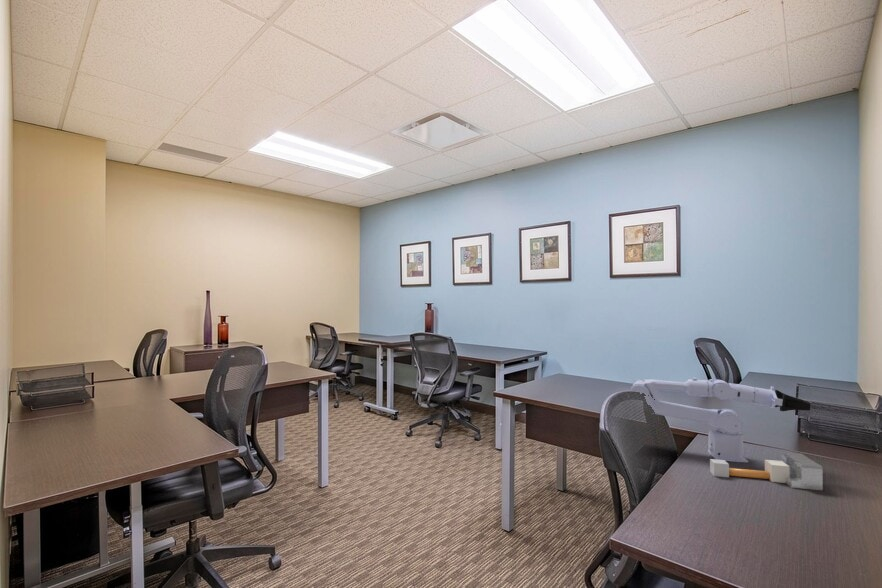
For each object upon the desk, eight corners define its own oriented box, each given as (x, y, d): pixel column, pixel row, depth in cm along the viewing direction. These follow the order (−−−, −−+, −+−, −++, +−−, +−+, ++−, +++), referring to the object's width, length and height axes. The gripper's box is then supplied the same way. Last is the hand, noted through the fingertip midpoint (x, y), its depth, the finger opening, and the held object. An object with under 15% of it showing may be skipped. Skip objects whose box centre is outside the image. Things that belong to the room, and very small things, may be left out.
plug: (714, 476, 126) (714, 460, 126) (709, 471, 130) (709, 455, 130) (789, 483, 121) (789, 466, 121) (781, 477, 125) (781, 460, 125)
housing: (791, 487, 119) (791, 464, 119) (772, 472, 128) (772, 451, 128) (822, 490, 117) (822, 466, 117) (801, 475, 127) (801, 453, 127)
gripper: (758, 385, 131) (814, 395, 125) (751, 381, 144) (801, 390, 137) (756, 407, 131) (812, 418, 124) (748, 401, 144) (799, 411, 137)
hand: (806, 405), depth 131 cm, fingers open, 7 cm apart
